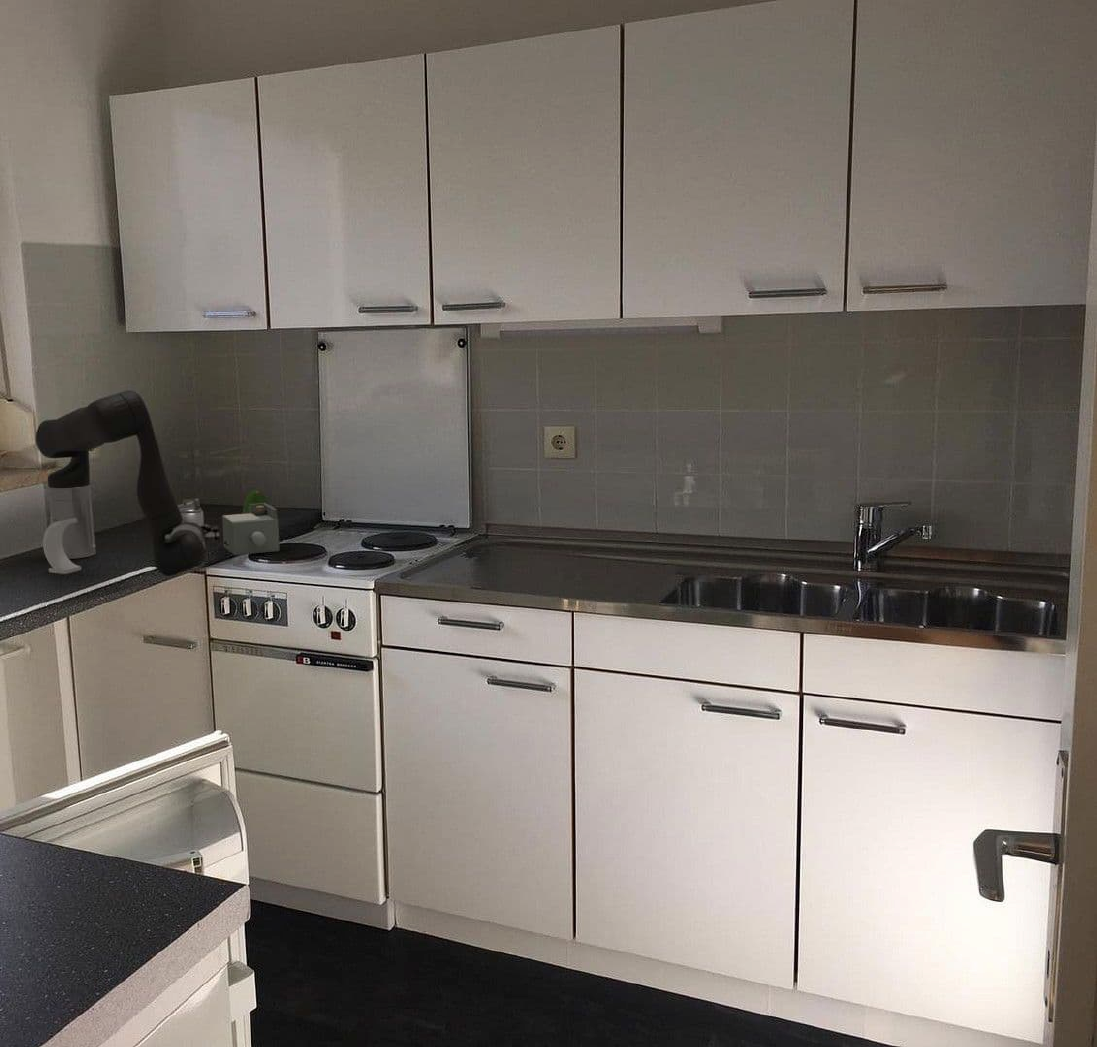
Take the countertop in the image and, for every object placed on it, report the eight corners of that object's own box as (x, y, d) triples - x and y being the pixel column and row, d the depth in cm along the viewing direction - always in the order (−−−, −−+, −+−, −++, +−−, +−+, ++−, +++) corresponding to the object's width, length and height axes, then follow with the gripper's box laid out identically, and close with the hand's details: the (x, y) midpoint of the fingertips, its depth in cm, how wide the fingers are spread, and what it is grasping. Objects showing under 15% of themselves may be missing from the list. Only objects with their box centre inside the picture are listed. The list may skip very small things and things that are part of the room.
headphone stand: (65, 574, 238) (60, 521, 236) (45, 571, 241) (40, 519, 239) (81, 569, 243) (77, 518, 240) (61, 567, 245) (57, 516, 243)
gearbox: (237, 557, 255) (235, 515, 254) (223, 546, 268) (221, 506, 266) (282, 553, 261) (280, 511, 259) (267, 542, 274) (265, 502, 272)
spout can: (183, 559, 253) (179, 501, 250) (179, 555, 258) (175, 498, 255) (208, 557, 256) (204, 500, 253) (203, 553, 261) (200, 497, 258)
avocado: (239, 537, 281) (237, 492, 279) (248, 531, 289) (246, 488, 287) (269, 537, 281) (267, 492, 279) (277, 531, 289) (275, 488, 287)
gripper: (218, 523, 243) (222, 511, 259) (152, 526, 240) (160, 514, 256) (220, 555, 244) (224, 541, 260) (154, 558, 241) (162, 544, 257)
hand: (192, 528), depth 258 cm, fingers closed on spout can, 5 cm apart
